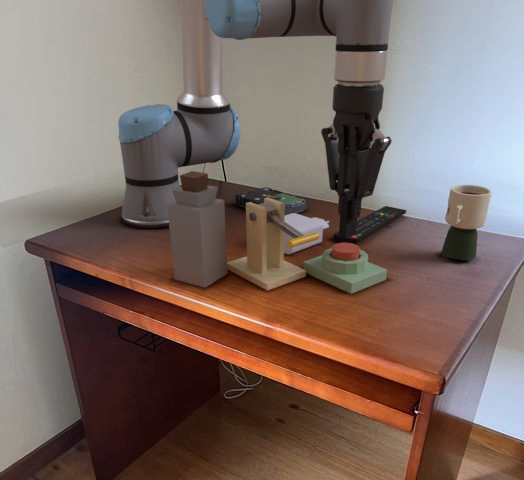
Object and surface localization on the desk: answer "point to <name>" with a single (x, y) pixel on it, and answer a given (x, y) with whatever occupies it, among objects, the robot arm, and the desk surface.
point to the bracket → (265, 250)
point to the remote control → (372, 224)
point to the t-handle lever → (287, 228)
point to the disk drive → (257, 197)
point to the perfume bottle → (197, 231)
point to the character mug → (465, 220)
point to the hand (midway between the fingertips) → (347, 234)
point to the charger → (304, 230)
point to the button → (345, 251)
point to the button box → (345, 271)
